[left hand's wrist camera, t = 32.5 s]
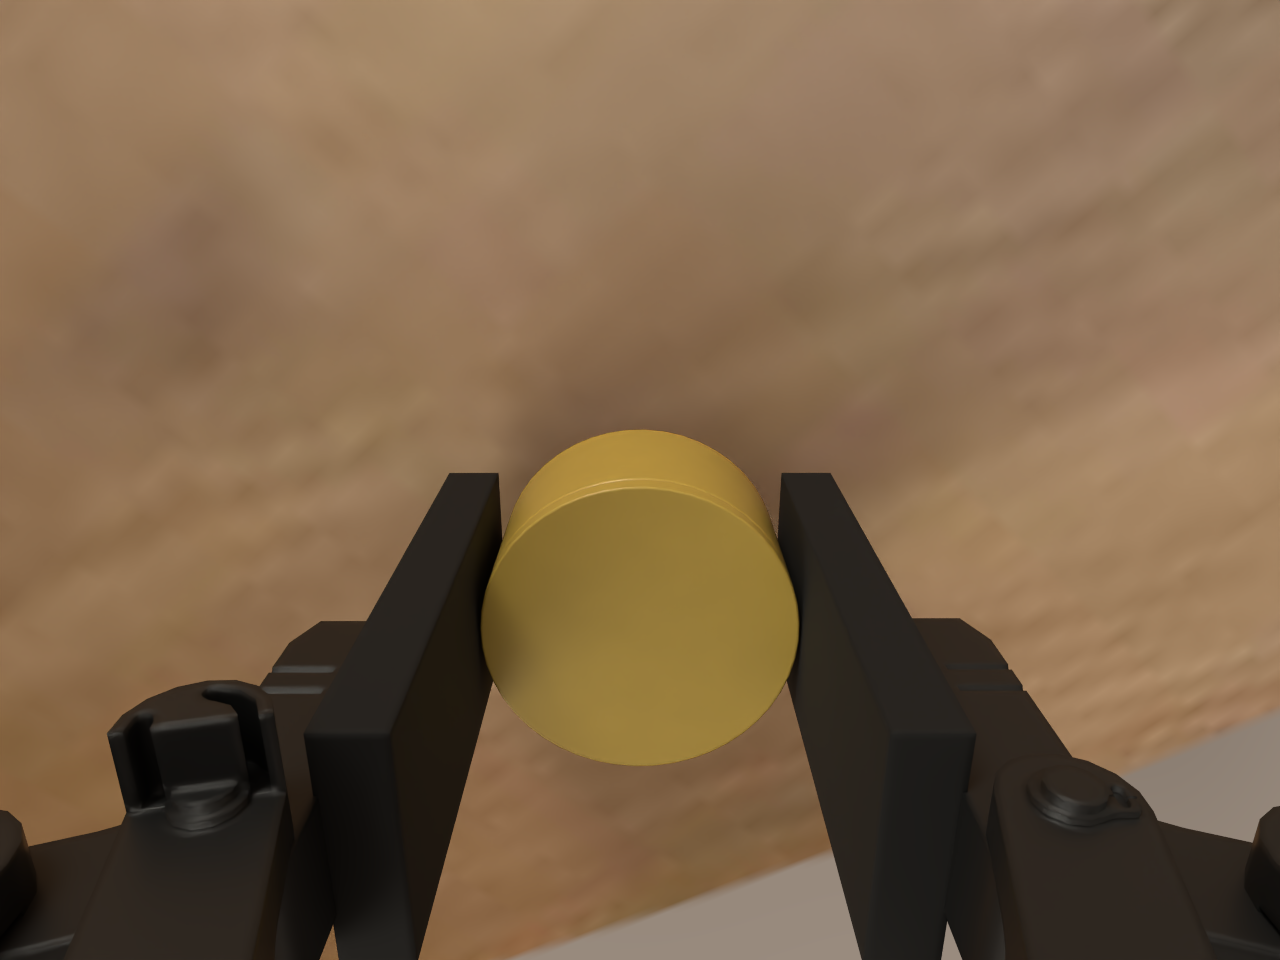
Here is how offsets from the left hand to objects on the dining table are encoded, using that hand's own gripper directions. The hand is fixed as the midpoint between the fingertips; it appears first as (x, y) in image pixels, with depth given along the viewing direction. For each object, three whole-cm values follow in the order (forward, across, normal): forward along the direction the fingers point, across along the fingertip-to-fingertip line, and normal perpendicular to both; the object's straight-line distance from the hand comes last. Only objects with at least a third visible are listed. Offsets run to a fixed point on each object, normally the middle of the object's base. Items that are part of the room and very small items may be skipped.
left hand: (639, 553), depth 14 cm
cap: (-2, 0, 0) cm, 2 cm away
